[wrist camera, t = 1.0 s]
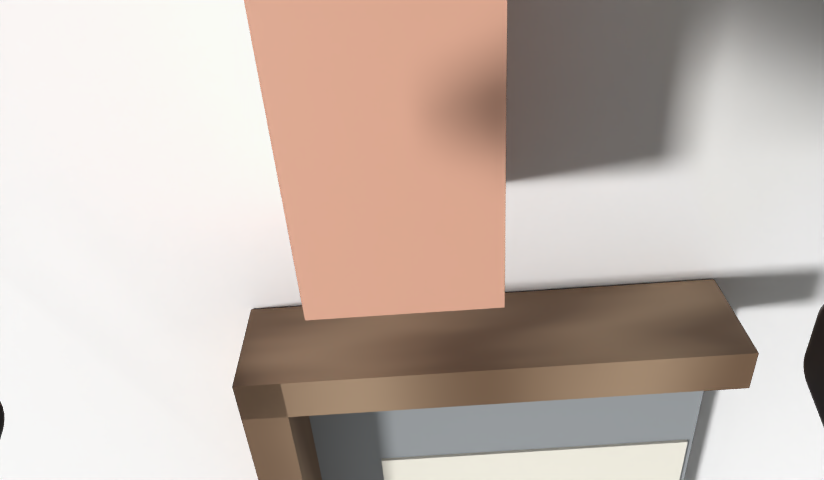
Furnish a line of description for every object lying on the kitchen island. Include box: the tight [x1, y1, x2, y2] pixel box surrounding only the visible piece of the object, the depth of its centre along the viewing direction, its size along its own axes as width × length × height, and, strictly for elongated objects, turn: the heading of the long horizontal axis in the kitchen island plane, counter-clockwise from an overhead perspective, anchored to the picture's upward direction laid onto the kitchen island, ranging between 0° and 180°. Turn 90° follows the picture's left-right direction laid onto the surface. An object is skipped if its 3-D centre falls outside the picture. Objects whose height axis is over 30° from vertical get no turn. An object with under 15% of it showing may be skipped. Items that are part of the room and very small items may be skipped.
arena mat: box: [309, 391, 704, 480], centre depth 24 cm, size 12×12×1 cm
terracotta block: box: [244, 0, 507, 320], centre depth 15 cm, size 4×8×5 cm, turn 4°
